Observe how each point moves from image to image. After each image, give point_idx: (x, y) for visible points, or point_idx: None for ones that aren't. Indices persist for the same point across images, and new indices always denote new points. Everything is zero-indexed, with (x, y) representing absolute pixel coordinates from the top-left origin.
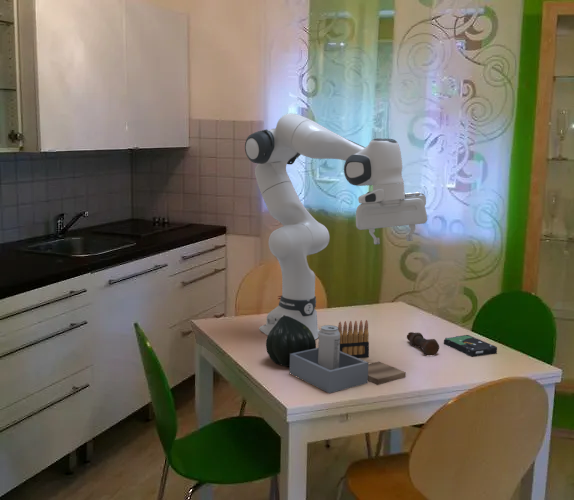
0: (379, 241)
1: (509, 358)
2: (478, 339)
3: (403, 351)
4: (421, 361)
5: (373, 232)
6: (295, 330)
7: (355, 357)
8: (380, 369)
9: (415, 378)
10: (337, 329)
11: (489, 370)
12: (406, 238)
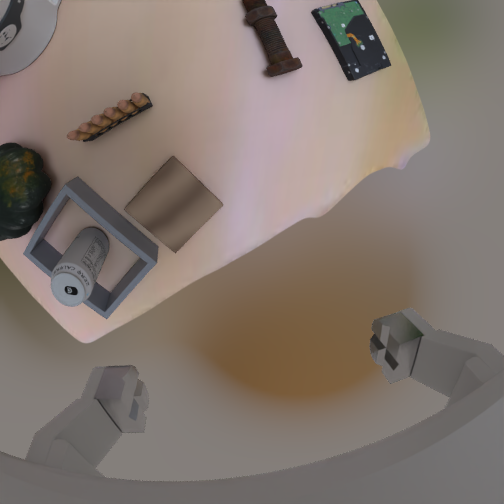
0: (145, 409)
1: (395, 90)
2: (371, 24)
3: (227, 55)
4: (258, 110)
5: (95, 474)
6: (1, 225)
7: (129, 241)
8: (176, 202)
9: (238, 204)
10: (85, 293)
11: (360, 146)
12: (384, 328)
